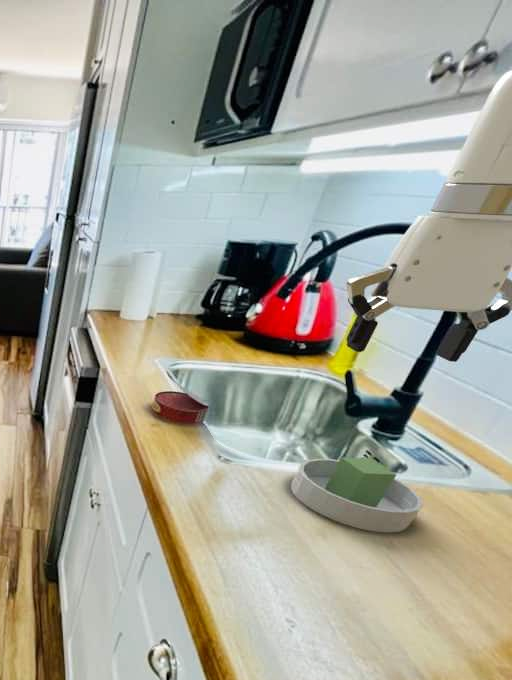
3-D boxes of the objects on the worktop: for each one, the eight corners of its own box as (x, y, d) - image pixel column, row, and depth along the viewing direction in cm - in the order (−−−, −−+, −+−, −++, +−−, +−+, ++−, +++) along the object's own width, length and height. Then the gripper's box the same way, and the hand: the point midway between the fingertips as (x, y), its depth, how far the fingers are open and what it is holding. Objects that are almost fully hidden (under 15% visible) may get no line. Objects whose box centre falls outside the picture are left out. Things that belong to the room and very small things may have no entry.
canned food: (154, 422, 105) (170, 378, 104) (205, 434, 98) (222, 387, 97) (139, 413, 96) (155, 365, 96) (193, 425, 90) (211, 373, 89)
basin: (358, 478, 78) (368, 460, 76) (437, 534, 66) (452, 514, 64) (271, 475, 78) (279, 457, 76) (333, 530, 66) (345, 510, 64)
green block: (352, 491, 74) (371, 458, 71) (375, 509, 70) (396, 474, 67) (323, 490, 74) (341, 457, 71) (344, 508, 70) (364, 473, 67)
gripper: (554, 206, 54) (463, 353, 62) (370, 199, 58) (309, 338, 67) (615, 209, 48) (504, 372, 56) (405, 201, 52) (332, 354, 60)
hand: (398, 353), depth 61 cm, fingers open, 9 cm apart
